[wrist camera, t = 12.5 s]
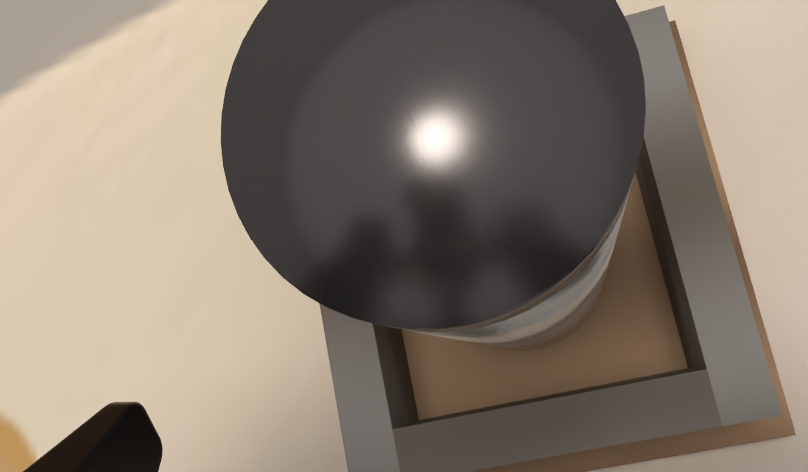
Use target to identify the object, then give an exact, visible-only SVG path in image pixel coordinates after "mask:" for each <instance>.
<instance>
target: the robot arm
mask: <svg viewBox="0 0 808 472" xmlns="http://www.w3.org/2000/svg"><path fill="white" fill-rule="evenodd" d="M161 459H162V443H161V439H160V437H159V435H158V433H157V431H156V429H155V427H154V426H153V424H152V422H151V420H150V418H149V416H148V414H147V412H146V410H145V408H144V407H143V406H142V405H141V404H140V403H138V402H114V403H110V404H108V405H107V406H105V407H104V408H103V409H101V410H100V411H99V412H97V413H96V414H95V415H94V416H92V417H91V418H90V419H89V420H87V421H86V422H85V423H84V424H82V425H81V426H80V427H79V428H77V429H76V430H75V431H74V432H72V433H71V434H70V435H69V436H67V437H66V438H65V439H64V440H62V441H61V442H60V443H58V444H57V445H56V446H55V447H53V448H52V449H51V450H50V451H48V452H47V453H46V454H45V455H43V456H42V457H41V458H40V459H38V460H37V461H36V462H35V463H33V464H32V465H31V466H30V467H28V468H27V469H26V470H25V471H23V472H158V470H159V467H160V463H161Z"/></svg>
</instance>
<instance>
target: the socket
mask: <svg viewBox="0 0 808 472" xmlns="http://www.w3.org/2000/svg"><path fill="white" fill-rule="evenodd" d="M624 17H625V19H626V21H627V22H628V24H629V27H630V29H631V32H632V35H633V38H634V40H635V43H636V46H637V49H638V51H639V56H640V61H641V66H642V71H643V75H644V83H645V99H646V114H645V127H644V138H643V142H642V147H641V151H640V155H639V160H638V164H637V168H636V172H635V175H634V179H633V182H632V186H631V189H630V193H629V196H628V200H627V203H626V207H625V210H624V214H623V218H622V221H621V225H620V228H619V232H618V235H617V239H616V242H615V246H614V249H613V253H612V256H611V260H610V263H609V267H608V270H607V274H606V277H605V281H604V284H603V288H602V291H601V294H600V296H599V299H598V301H597V303H596V305H595V307H594V309H593V311H592V312H591V313H590V315H589V316H588V317H587V319H586V320H585V321H584V322H583V323H582V324H581V325H580V326H579V327H578V328H577V329H576V330H575V331H573V332H572V333H571V334H570V335H568V336H566V337H565V338H563V339H561V340H560V341H558V342H555V343H553V344H551V345H548V346H544V347H541V348H537V349H530V350H511V349H503V348H498V347H493V346H488V345H482V344H477V343H472V342H466V341H461V340H456V339H450V338H445V337H440V336H434V335H429V334H424V333H419V332H413V331H408V330H403V329H397V328H392V327H387V326H381V325H377V324H373V323H369V322H366V321H362V320H358V319H354V318H351V317H349V316H346V315H344V314H341V313H339V312H337V311H334V310H332V309H329V308H327V307H325V306H324V305H322V304H320V309H321V314H322V320H323V326H324V332H325V338H326V343H327V349H328V355H329V361H330V367H331V372H332V378H333V384H334V390H335V396H336V402H337V407H338V413H339V419H340V425H341V431H342V436H343V442H344V448H345V454H346V460H347V465H348V471H349V472H583V471H589V470H595V469H601V468H606V467H612V466H618V465H624V464H630V463H635V462H641V461H647V460H653V459H658V458H664V457H670V456H676V455H682V454H687V453H693V452H699V451H705V450H711V449H716V448H722V447H728V446H734V445H740V444H745V443H751V442H757V441H763V440H768V439H774V438H780V437H786V436H792V435H796V434H795V431H794V427H793V424H792V420H791V417H790V414H789V410H788V407H787V403H786V400H785V396H784V393H783V389H782V386H781V383H780V379H779V376H778V372H777V369H776V365H775V362H774V359H773V355H772V352H771V348H770V345H769V341H768V338H767V335H766V331H765V328H764V324H763V321H762V317H761V314H760V311H759V307H758V304H757V300H756V297H755V293H754V290H753V286H752V283H751V280H750V276H749V273H748V269H747V266H746V262H745V259H744V256H743V252H742V249H741V245H740V242H739V238H738V235H737V232H736V228H735V225H734V221H733V218H732V214H731V211H730V208H729V204H728V201H727V197H726V194H725V190H724V187H723V184H722V180H721V177H720V173H719V170H718V166H717V163H716V159H715V156H714V153H713V149H712V146H711V142H710V139H709V135H708V132H707V129H706V125H705V122H704V118H703V115H702V111H701V108H700V105H699V101H698V98H697V94H696V91H695V87H694V84H693V81H692V77H691V74H690V70H689V67H688V63H687V60H686V56H685V53H684V50H683V46H682V43H681V39H680V36H679V32H678V29H677V26H676V22H675V21H671V22H669V21H668V18H667V14H666V11H665V7H664V6H660V7H656V8H653V9H649V10H646V11H642V12H639V13H635V14H631V15H628V16H624Z"/></svg>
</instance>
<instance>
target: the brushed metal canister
mask: <svg viewBox="0 0 808 472" xmlns="http://www.w3.org/2000/svg"><path fill="white" fill-rule="evenodd" d="M645 114H646V99H645V83H644V75H643V71H642V66H641V61H640V56H639V51H638V49H637V46H636V43H635V40H634V38H633V35H632V32H631V29H630V27H629V24H628V22H627V21H626V19H625V17H624V15H623V13H622V11H621V10H620V8H619V6H618V4H617V2H616V0H268V1H267V3H266V4H265V6H264V7H263V8H262V10H261V11H260V12H259V14H258V15H257V17H256V18H255V20H254V22H253V23H252V25H251V27H250V29H249V31H248V32H247V34H246V36H245V38H244V39H243V41H242V44H241V46H240V49H239V51H238V53H237V56H236V58H235V60H234V63H233V66H232V69H231V73H230V76H229V80H228V83H227V87H226V91H225V97H224V104H223V110H222V121H221V147H222V158H223V167H224V171H225V176H226V180H227V185H228V189H229V192H230V195H231V198H232V201H233V203H234V206H235V209H236V211H237V214H238V216H239V218H240V220H241V222H242V224H243V226H244V227H245V229H246V231H247V233H248V235H249V237H250V238H251V240H252V241H253V243H254V244H255V245H256V247H257V248H258V250H259V251H260V252H261V254H262V255H263V256H264V258H265V259H266V260H267V261H268V262H269V263H270V264H271V265H272V266H273V267H274V268H275V270H276V271H277V272H278V273H279V274H280V275H281V276H282V277H283V278H284V279H286V280H287V281H288V282H289V283H291V284H292V285H293V286H294V287H296V288H297V289H298V290H300V291H301V292H302V293H303V294H305V295H307V296H308V297H310V298H312V299H313V300H315V301H317V302H318V303H320V304H322V305H324V306H325V307H327V308H329V309H332V310H334V311H337V312H339V313H341V314H344V315H346V316H349V317H351V318H354V319H358V320H362V321H366V322H369V323H373V324H377V325H381V326H387V327H392V328H397V329H403V330H408V331H413V332H419V333H424V334H429V335H434V336H440V337H445V338H450V339H456V340H461V341H466V342H472V343H477V344H482V345H488V346H493V347H498V348H503V349H511V350H530V349H537V348H541V347H544V346H548V345H551V344H553V343H555V342H558V341H560V340H561V339H563V338H565V337H566V336H568V335H570V334H571V333H572V332H573V331H575V330H576V329H577V328H578V327H579V326H580V325H581V324H582V323H583V322H584V321H585V320H586V319H587V317H588V316H589V315H590V313H591V312H592V311H593V309H594V307H595V305H596V303H597V301H598V299H599V296H600V294H601V291H602V288H603V284H604V281H605V277H606V274H607V270H608V267H609V263H610V260H611V256H612V253H613V249H614V246H615V242H616V239H617V235H618V232H619V228H620V225H621V221H622V218H623V214H624V210H625V207H626V203H627V200H628V196H629V193H630V189H631V186H632V182H633V179H634V175H635V172H636V168H637V164H638V160H639V155H640V151H641V147H642V142H643V138H644V127H645Z"/></svg>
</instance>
